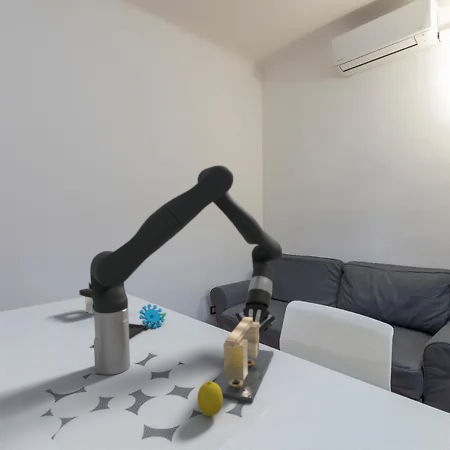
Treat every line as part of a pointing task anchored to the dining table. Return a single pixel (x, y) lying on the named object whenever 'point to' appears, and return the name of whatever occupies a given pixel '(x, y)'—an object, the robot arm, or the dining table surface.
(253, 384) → the bolt plate
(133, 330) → the smart home device
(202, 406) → the lemon
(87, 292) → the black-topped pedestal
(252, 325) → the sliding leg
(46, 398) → the dining table surface
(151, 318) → the blue knobbed spoke wheel
